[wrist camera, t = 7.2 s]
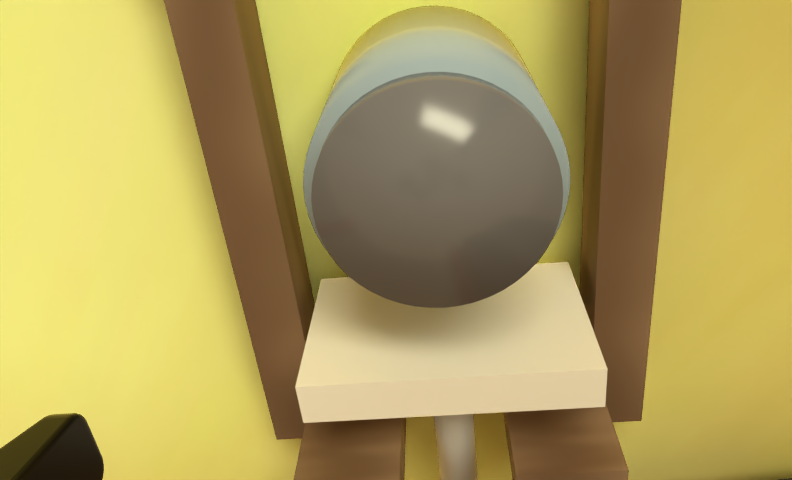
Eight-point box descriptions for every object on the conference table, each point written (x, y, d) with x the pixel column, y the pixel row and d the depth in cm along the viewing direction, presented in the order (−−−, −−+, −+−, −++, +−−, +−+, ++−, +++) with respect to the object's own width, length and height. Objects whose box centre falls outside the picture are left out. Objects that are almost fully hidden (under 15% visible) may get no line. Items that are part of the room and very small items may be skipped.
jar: (531, -6, 17) (580, 52, 12) (532, 190, 20) (573, 308, 15) (318, 16, 18) (275, 81, 12) (347, 205, 20) (321, 325, 15)
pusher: (568, 261, 21) (607, 369, 16) (564, 418, 24) (597, 544, 19) (321, 278, 21) (295, 386, 17) (349, 429, 24) (333, 554, 20)
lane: (773, -380, 14) (941, -495, 9) (678, 375, 23) (739, 496, 19) (45, -278, 15) (-113, -336, 10) (237, 400, 24) (197, 519, 20)
